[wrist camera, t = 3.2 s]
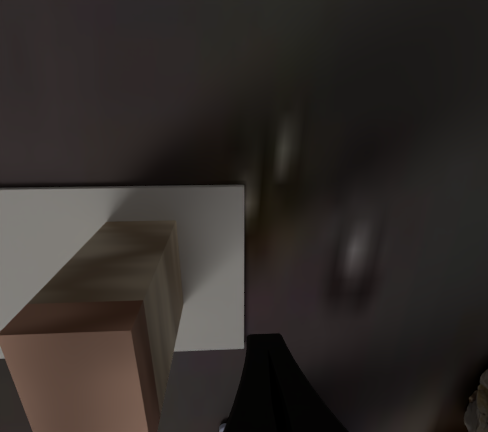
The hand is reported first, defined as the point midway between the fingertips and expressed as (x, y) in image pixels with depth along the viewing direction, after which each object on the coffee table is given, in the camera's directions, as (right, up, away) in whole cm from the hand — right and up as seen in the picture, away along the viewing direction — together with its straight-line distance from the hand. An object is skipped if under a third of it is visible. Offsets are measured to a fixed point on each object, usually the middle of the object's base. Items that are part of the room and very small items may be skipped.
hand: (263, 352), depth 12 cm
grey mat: (-11, +2, +7) cm, 13 cm away
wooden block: (-7, +3, +6) cm, 10 cm away
